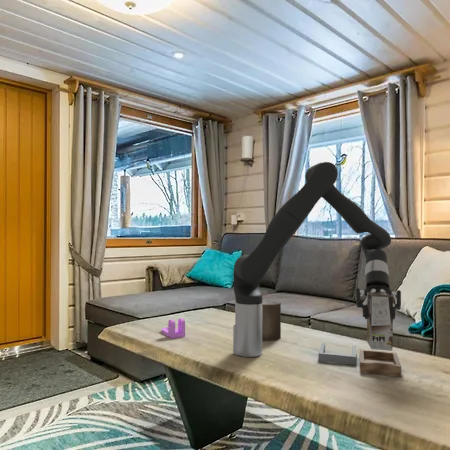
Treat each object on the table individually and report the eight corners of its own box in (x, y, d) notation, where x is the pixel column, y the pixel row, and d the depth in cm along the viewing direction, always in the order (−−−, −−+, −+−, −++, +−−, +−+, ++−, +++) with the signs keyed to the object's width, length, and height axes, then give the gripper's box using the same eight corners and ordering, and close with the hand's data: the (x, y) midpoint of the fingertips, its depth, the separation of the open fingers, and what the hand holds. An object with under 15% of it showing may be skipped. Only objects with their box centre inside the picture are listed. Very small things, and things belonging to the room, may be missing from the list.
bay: (318, 361, 129) (318, 353, 129) (321, 349, 142) (321, 342, 142) (355, 365, 126) (355, 357, 126) (355, 353, 138) (355, 345, 138)
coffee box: (393, 351, 119) (393, 296, 120) (370, 349, 121) (370, 295, 121) (387, 342, 128) (387, 292, 128) (366, 341, 130) (366, 291, 130)
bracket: (185, 337, 158) (185, 319, 158) (171, 338, 155) (172, 320, 155) (171, 329, 169) (172, 313, 169) (159, 331, 166) (159, 314, 167)
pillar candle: (285, 339, 156) (285, 300, 156) (264, 341, 152) (264, 301, 152) (272, 333, 165) (272, 296, 165) (251, 335, 160) (251, 298, 161)
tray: (360, 372, 119) (360, 362, 119) (359, 358, 133) (359, 349, 133) (401, 376, 116) (401, 366, 116) (396, 361, 129) (396, 352, 129)
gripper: (354, 268, 136) (354, 310, 125) (400, 270, 132) (405, 313, 120) (354, 282, 141) (354, 323, 130) (399, 284, 137) (403, 327, 125)
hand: (379, 318), depth 125 cm, fingers closed on coffee box, 7 cm apart
